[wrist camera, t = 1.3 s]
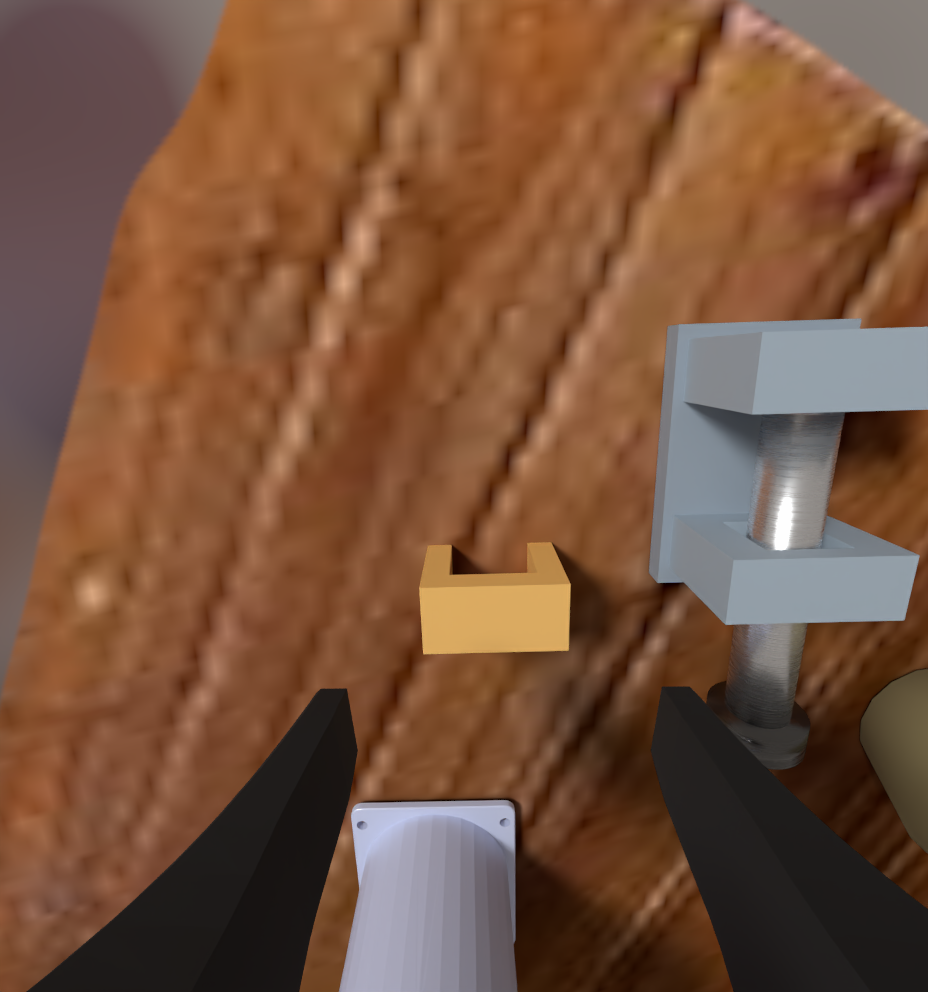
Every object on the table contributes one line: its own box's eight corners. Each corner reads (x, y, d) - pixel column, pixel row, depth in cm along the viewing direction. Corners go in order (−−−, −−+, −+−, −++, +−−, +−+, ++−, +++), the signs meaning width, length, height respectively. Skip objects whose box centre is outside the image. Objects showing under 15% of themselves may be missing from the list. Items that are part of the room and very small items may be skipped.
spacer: (550, 598, 21) (568, 650, 18) (430, 601, 21) (423, 654, 18) (551, 542, 21) (570, 584, 17) (428, 545, 21) (419, 588, 17)
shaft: (770, 703, 21) (827, 768, 17) (689, 705, 21) (731, 770, 18) (818, 405, 17) (900, 415, 14) (722, 407, 17) (781, 418, 14)
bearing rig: (799, 568, 21) (912, 639, 16) (648, 572, 21) (710, 644, 16) (840, 320, 18) (993, 304, 13) (667, 326, 18) (749, 312, 13)
